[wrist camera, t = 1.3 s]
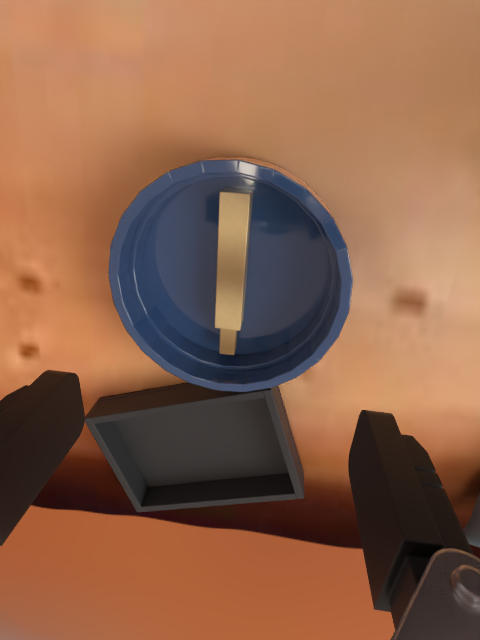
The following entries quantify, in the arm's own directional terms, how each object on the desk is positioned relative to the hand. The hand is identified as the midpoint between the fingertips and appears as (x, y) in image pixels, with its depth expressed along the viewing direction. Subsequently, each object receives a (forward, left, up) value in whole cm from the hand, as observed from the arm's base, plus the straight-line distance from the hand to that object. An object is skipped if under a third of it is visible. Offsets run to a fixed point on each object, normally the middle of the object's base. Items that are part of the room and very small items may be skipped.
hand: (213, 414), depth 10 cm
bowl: (+1, 0, -14) cm, 14 cm away
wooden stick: (+1, 0, -13) cm, 13 cm away
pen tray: (+8, +12, -14) cm, 20 cm away
